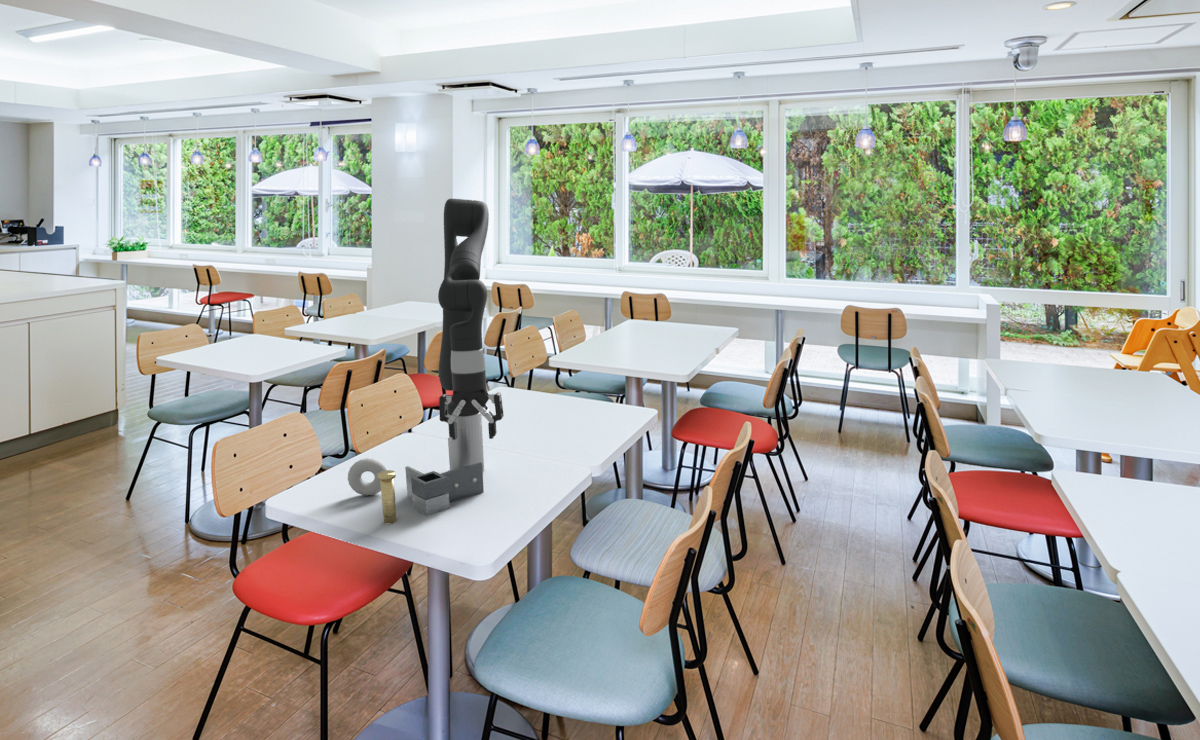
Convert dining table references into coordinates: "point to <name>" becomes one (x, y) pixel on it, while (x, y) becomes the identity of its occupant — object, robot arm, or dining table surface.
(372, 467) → the donut
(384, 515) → the pin
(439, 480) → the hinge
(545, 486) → the dining table surface
